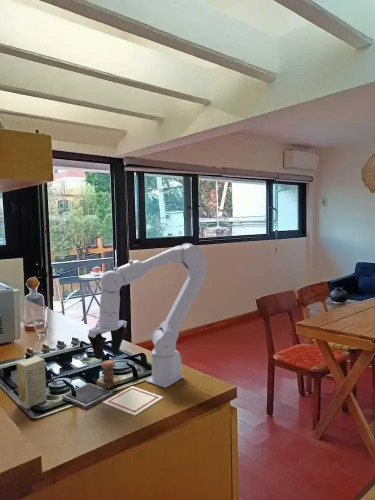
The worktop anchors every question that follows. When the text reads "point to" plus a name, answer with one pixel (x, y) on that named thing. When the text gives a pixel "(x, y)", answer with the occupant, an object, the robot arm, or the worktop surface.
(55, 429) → the worktop surface
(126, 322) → the robot arm
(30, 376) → the skincare box
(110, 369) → the stamp
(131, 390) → the marked sheet
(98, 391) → the ink pad
